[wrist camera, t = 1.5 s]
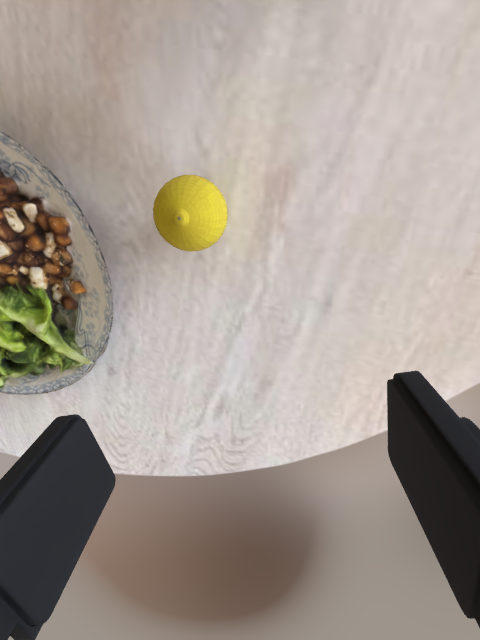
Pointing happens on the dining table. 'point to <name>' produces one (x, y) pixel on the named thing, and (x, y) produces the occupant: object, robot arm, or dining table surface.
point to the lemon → (190, 213)
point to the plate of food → (47, 280)
